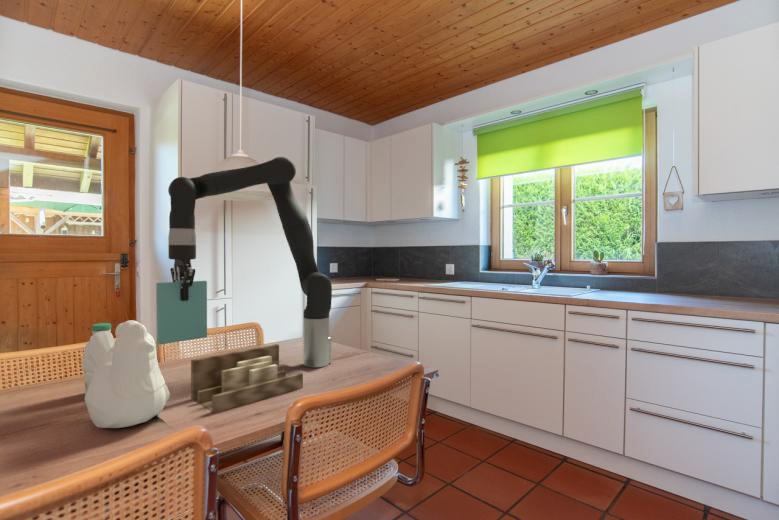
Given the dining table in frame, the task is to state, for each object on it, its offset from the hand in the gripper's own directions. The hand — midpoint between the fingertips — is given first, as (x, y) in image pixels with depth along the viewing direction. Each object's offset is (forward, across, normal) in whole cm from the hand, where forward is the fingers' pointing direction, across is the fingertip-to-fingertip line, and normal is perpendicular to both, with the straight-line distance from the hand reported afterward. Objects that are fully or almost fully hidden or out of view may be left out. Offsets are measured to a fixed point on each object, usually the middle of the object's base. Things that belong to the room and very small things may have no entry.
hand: (182, 300), depth 126 cm
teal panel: (+12, 0, 0) cm, 12 cm away
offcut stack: (+25, -27, -8) cm, 37 cm away
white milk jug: (+26, -16, +20) cm, 37 cm away
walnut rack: (+26, -26, -8) cm, 38 cm away
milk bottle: (+26, +8, +19) cm, 33 cm away
